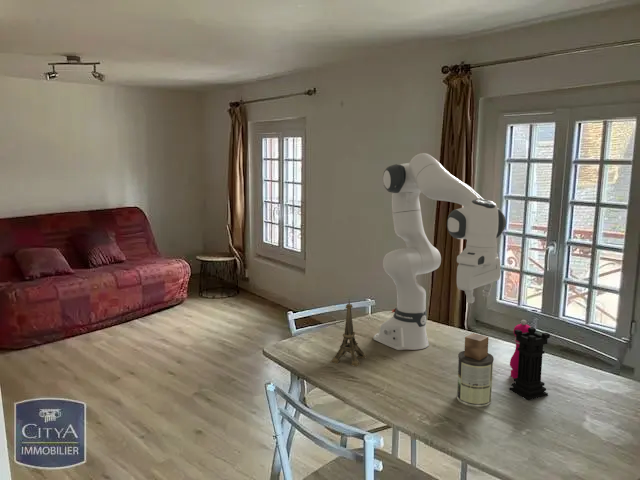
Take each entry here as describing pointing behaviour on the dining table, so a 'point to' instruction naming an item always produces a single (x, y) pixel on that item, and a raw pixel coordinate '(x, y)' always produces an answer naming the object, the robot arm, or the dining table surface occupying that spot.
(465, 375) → the coffee can
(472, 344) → the walnut block
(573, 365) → the dining table surface
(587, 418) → the dining table surface
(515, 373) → the pepper mill
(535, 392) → the chess piece
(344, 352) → the eiffel tower
